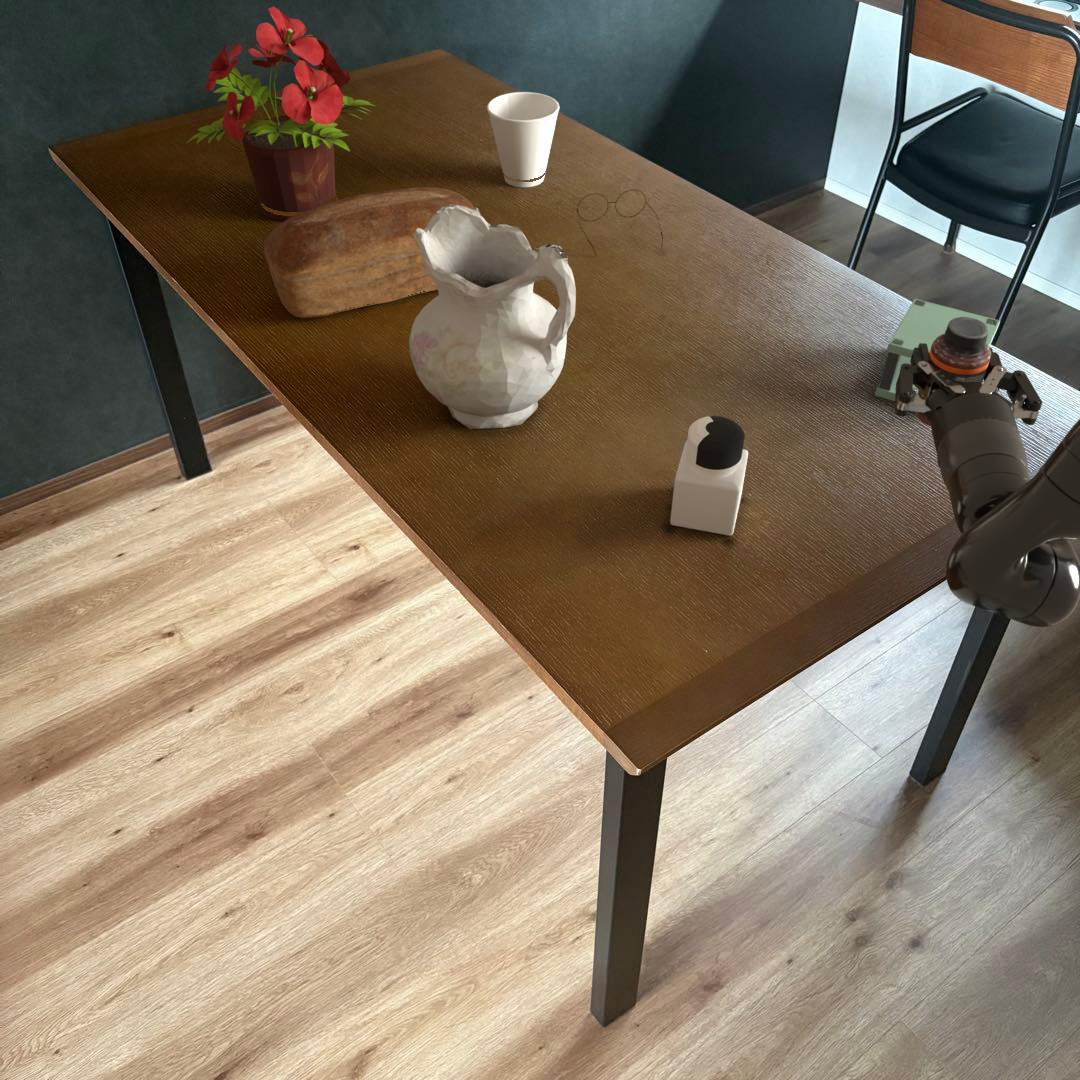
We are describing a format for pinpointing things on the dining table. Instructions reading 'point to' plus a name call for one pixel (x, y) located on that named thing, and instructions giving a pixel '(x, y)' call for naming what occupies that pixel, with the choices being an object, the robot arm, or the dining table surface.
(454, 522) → the dining table surface
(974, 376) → the supplement bottle
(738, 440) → the medicine bottle
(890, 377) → the shelf rack
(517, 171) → the cup
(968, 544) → the robot arm
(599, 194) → the eyeglasses
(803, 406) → the dining table surface
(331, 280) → the bread
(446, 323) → the ceramic pitcher
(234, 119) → the potted plant
